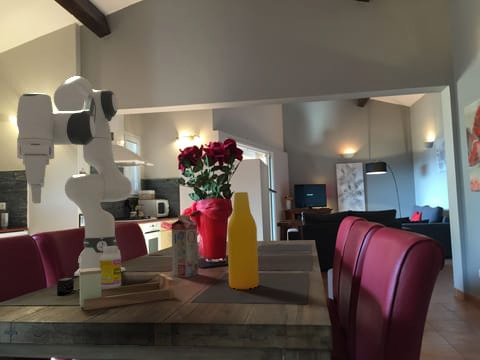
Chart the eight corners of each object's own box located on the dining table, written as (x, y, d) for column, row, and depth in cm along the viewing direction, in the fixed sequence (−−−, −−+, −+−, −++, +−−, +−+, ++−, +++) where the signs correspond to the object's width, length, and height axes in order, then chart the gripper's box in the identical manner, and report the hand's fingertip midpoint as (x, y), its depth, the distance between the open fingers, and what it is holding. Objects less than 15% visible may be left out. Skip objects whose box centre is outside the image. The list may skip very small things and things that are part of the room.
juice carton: (198, 274, 142) (196, 214, 144) (186, 277, 137) (185, 215, 138) (184, 272, 146) (182, 214, 147) (172, 276, 140) (171, 215, 142)
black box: (67, 289, 125) (67, 275, 125) (87, 289, 124) (87, 275, 124) (41, 299, 113) (41, 283, 113) (64, 299, 112) (64, 283, 112)
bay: (80, 300, 107) (80, 282, 108) (162, 289, 118) (162, 273, 118) (84, 310, 96) (83, 290, 96) (174, 297, 106) (173, 279, 107)
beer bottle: (264, 286, 117) (261, 191, 119) (239, 291, 112) (235, 192, 114) (248, 282, 125) (245, 192, 127) (223, 286, 120) (220, 193, 122)
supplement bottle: (114, 288, 121) (114, 247, 122) (95, 288, 122) (95, 248, 123) (125, 284, 128) (124, 245, 128) (107, 284, 129) (106, 245, 130)
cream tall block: (79, 303, 104) (79, 269, 104) (99, 300, 106) (99, 267, 107) (80, 307, 99) (80, 272, 100) (101, 304, 101) (101, 270, 102)
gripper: (24, 156, 111) (25, 204, 111) (20, 146, 93) (20, 203, 92) (48, 156, 114) (49, 203, 114) (49, 146, 96) (50, 202, 95)
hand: (36, 203), depth 103 cm, fingers open, 8 cm apart
